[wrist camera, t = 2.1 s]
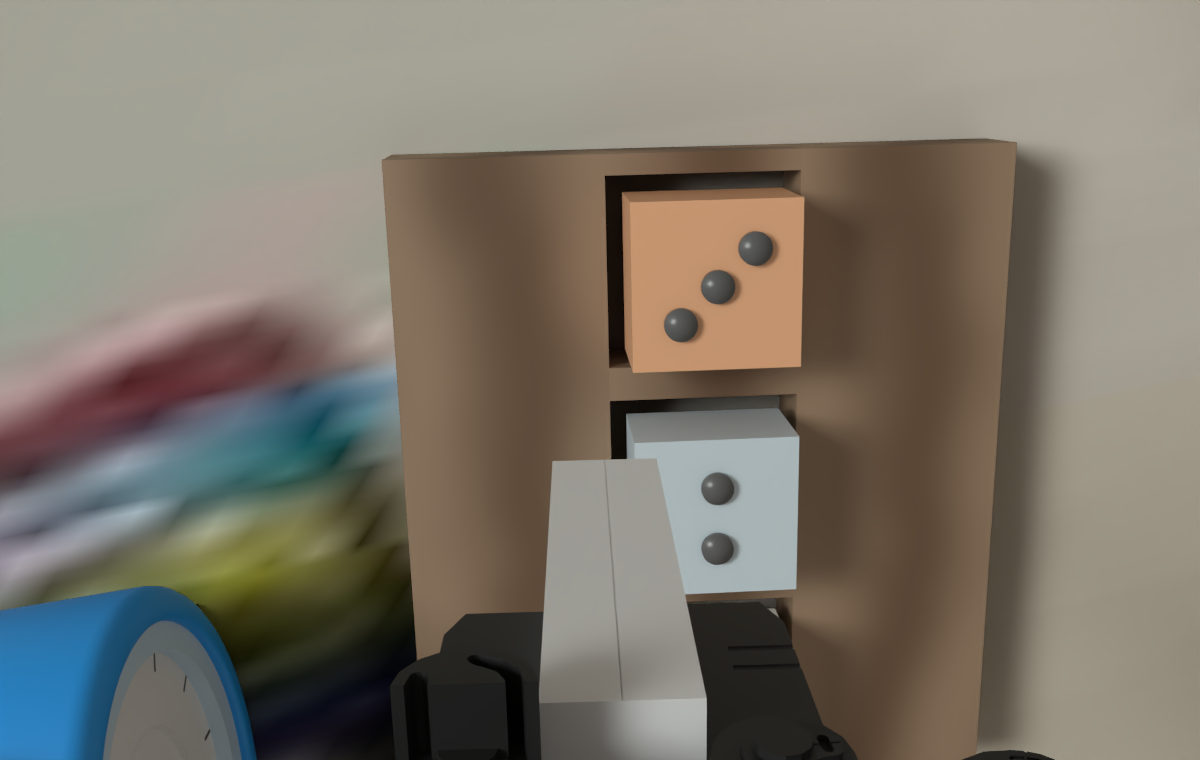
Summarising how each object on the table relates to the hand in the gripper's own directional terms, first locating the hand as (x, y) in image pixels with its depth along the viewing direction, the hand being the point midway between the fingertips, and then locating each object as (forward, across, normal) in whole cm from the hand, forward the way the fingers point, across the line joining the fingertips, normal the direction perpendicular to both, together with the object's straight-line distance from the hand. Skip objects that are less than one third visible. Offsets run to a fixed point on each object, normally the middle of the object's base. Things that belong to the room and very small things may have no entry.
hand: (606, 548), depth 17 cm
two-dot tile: (+18, +3, -5) cm, 19 cm away
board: (+20, +3, -6) cm, 21 cm away
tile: (+18, +3, +1) cm, 18 cm away
